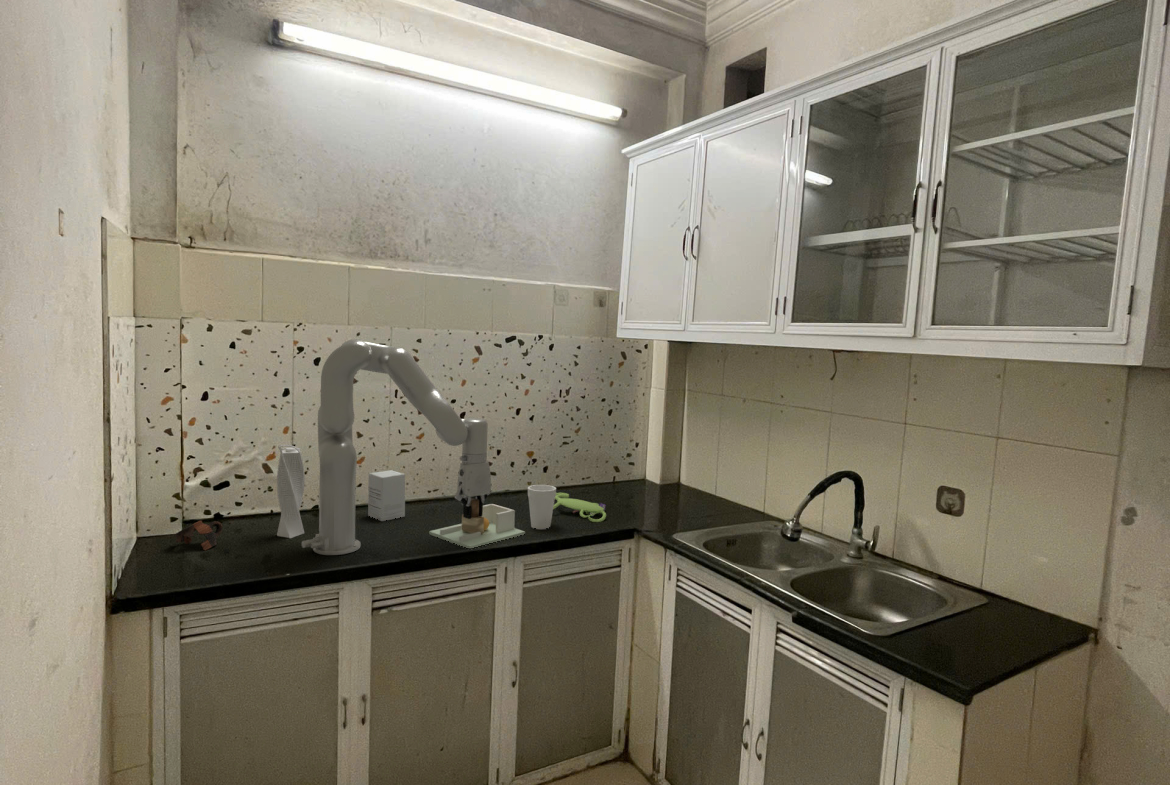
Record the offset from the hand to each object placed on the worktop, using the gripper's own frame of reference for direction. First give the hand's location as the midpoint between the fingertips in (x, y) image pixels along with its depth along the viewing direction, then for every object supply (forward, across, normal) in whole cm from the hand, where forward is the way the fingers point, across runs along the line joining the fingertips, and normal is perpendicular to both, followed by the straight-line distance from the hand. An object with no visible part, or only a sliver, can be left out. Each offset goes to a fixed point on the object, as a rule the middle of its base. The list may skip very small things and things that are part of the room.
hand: (472, 516), depth 197 cm
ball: (+3, +4, 0) cm, 5 cm away
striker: (+5, 0, 0) cm, 5 cm away
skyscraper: (+7, -40, +37) cm, 55 cm away
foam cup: (+6, +23, -7) cm, 25 cm away
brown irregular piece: (+7, -62, +43) cm, 76 cm away
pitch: (+6, +2, 0) cm, 7 cm away
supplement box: (+7, -8, +36) cm, 37 cm away
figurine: (+7, +44, -2) cm, 45 cm away
